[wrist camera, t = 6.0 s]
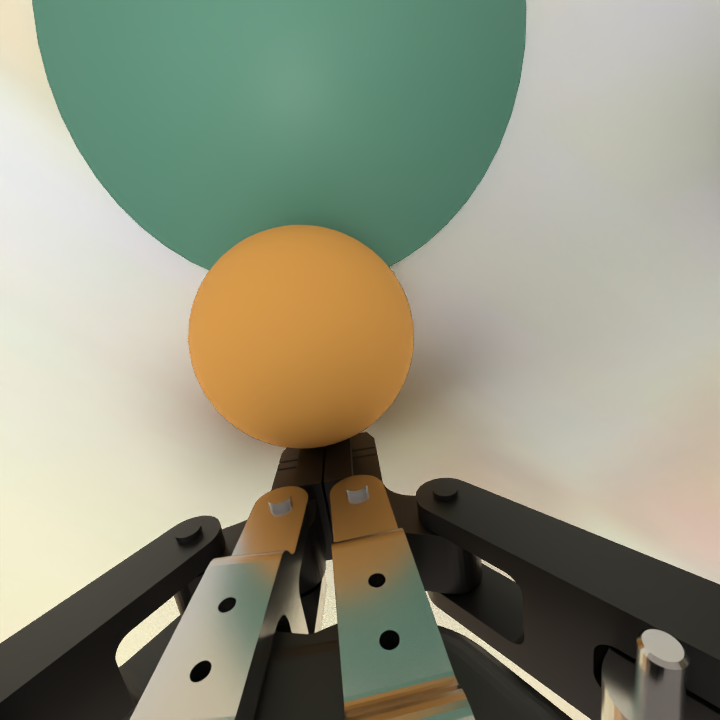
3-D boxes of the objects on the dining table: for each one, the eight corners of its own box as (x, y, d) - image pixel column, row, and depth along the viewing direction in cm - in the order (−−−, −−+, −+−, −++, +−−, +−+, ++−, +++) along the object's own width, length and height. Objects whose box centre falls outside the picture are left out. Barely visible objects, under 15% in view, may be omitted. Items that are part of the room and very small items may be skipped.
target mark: (516, -333, 9) (520, -346, 9) (528, 256, 13) (530, 256, 13) (-51, -246, 10) (-59, -256, 9) (126, 316, 13) (122, 317, 13)
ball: (413, 341, 15) (394, 173, 11) (432, 484, 10) (411, 283, 6) (262, 360, 15) (194, 210, 12) (217, 501, 11) (81, 332, 7)
